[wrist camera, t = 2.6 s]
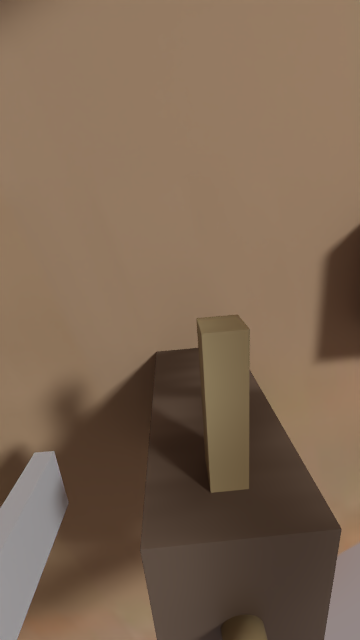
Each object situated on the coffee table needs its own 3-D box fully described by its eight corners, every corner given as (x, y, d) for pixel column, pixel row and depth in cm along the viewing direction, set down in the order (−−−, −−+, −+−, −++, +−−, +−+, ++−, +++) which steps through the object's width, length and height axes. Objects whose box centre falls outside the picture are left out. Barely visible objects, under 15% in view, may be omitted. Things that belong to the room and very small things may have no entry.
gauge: (167, 446, 16) (168, 755, 7) (147, 272, 13) (92, 401, 3) (236, 439, 16) (333, 735, 7) (233, 265, 13) (415, 370, 3)
